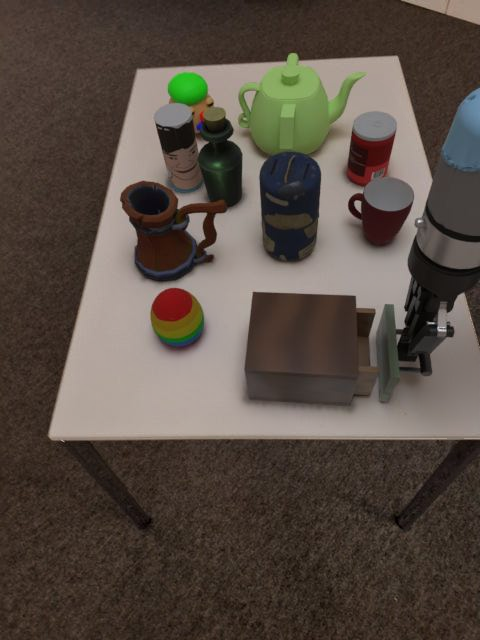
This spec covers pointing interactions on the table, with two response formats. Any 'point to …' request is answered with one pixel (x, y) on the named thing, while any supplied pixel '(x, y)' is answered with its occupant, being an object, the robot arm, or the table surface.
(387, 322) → the drawer
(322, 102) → the teapot
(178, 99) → the figurine
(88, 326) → the table surface
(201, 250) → the mug
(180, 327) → the decorative egg
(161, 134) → the printed cylinder container
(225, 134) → the potion bottle
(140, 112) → the table surface
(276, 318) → the cabinet
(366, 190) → the mug
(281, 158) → the canister
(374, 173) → the canned food
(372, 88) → the table surface
